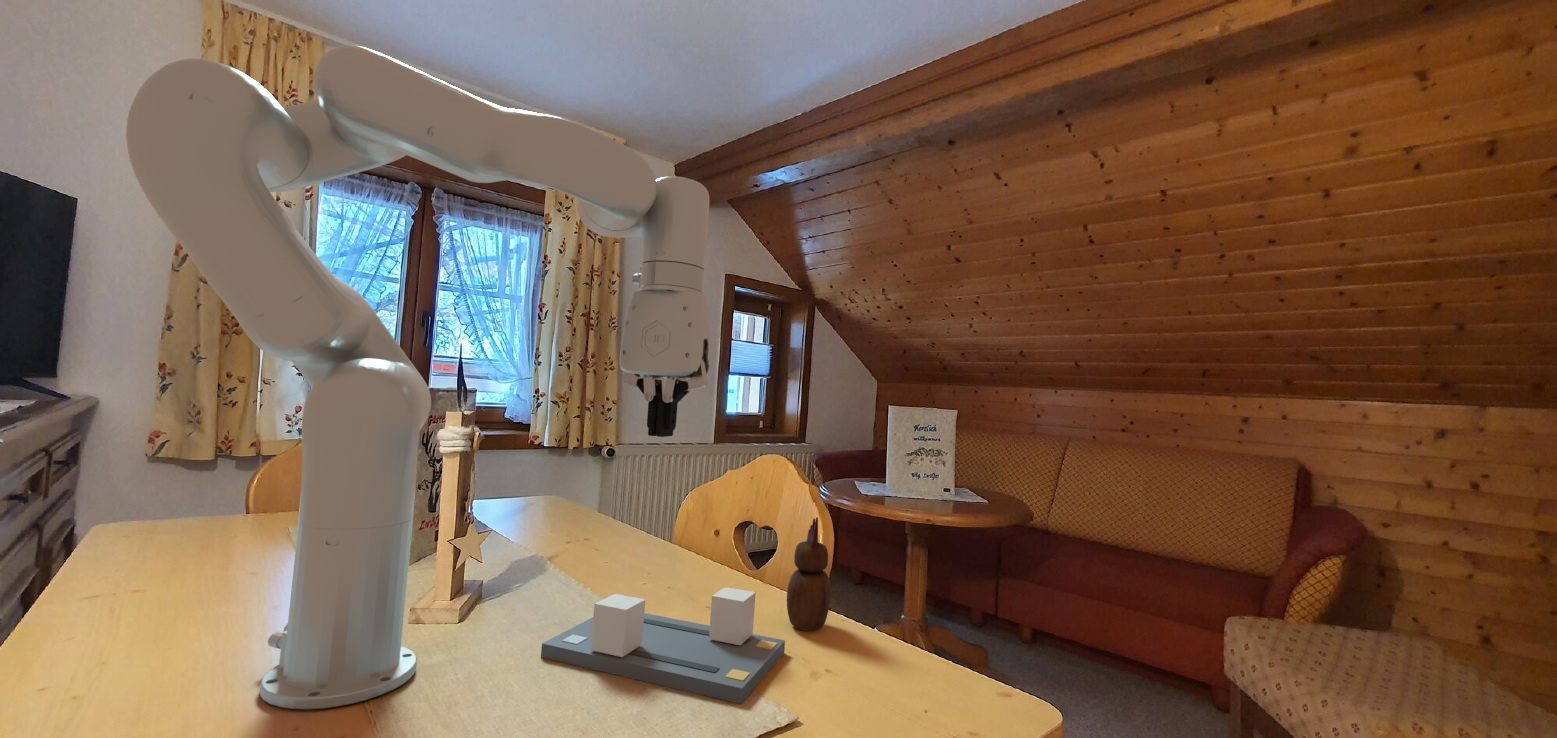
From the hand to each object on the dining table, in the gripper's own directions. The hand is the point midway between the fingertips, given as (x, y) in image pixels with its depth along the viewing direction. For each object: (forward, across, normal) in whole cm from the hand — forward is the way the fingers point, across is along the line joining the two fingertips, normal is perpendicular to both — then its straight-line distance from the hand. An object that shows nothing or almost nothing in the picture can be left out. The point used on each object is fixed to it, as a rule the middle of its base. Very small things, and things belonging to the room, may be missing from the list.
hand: (660, 435), depth 75 cm
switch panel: (+25, +3, 0) cm, 25 cm away
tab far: (+23, +9, +5) cm, 25 cm away
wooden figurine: (+25, +15, +17) cm, 34 cm away
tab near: (+23, -1, -5) cm, 24 cm away
